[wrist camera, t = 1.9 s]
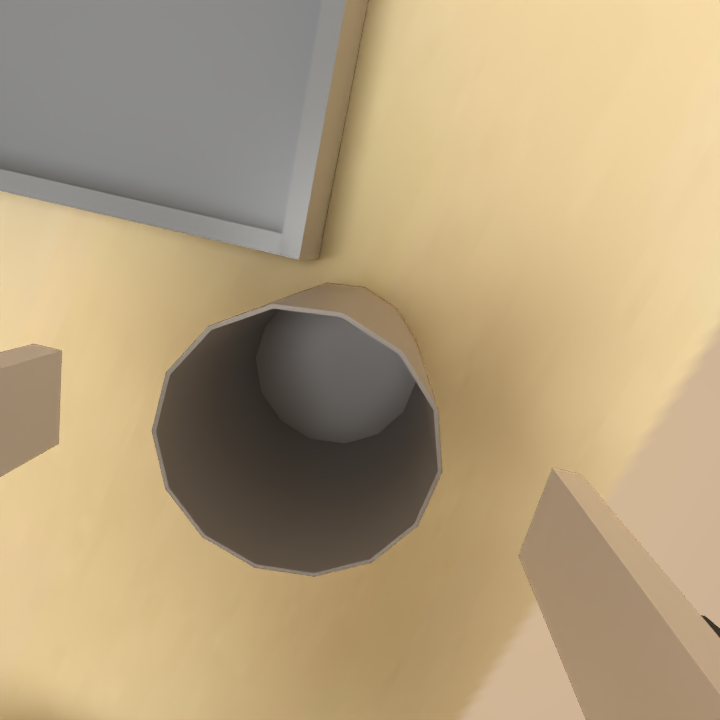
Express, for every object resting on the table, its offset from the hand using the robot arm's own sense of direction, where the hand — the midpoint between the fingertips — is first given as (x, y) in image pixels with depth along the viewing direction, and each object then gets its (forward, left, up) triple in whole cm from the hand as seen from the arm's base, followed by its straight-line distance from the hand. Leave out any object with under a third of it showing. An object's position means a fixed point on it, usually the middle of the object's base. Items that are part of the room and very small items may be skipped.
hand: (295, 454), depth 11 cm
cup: (0, 0, -11) cm, 11 cm away
